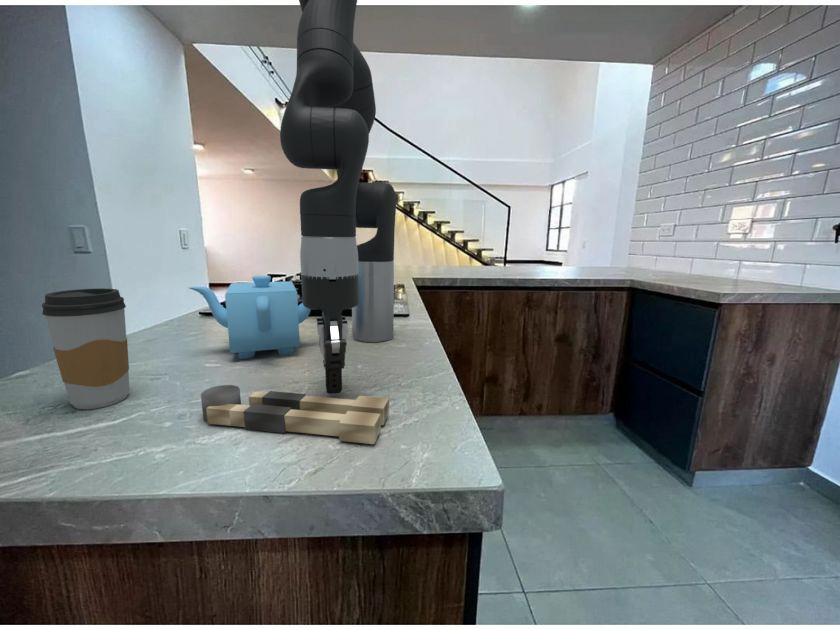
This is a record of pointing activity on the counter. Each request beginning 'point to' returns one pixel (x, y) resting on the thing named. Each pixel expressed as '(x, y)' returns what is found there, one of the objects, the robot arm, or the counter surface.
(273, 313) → the teakettle
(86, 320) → the coffee cup
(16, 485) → the counter surface
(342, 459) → the counter surface
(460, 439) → the counter surface
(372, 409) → the tong arm
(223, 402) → the tongs frame
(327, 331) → the robot arm
